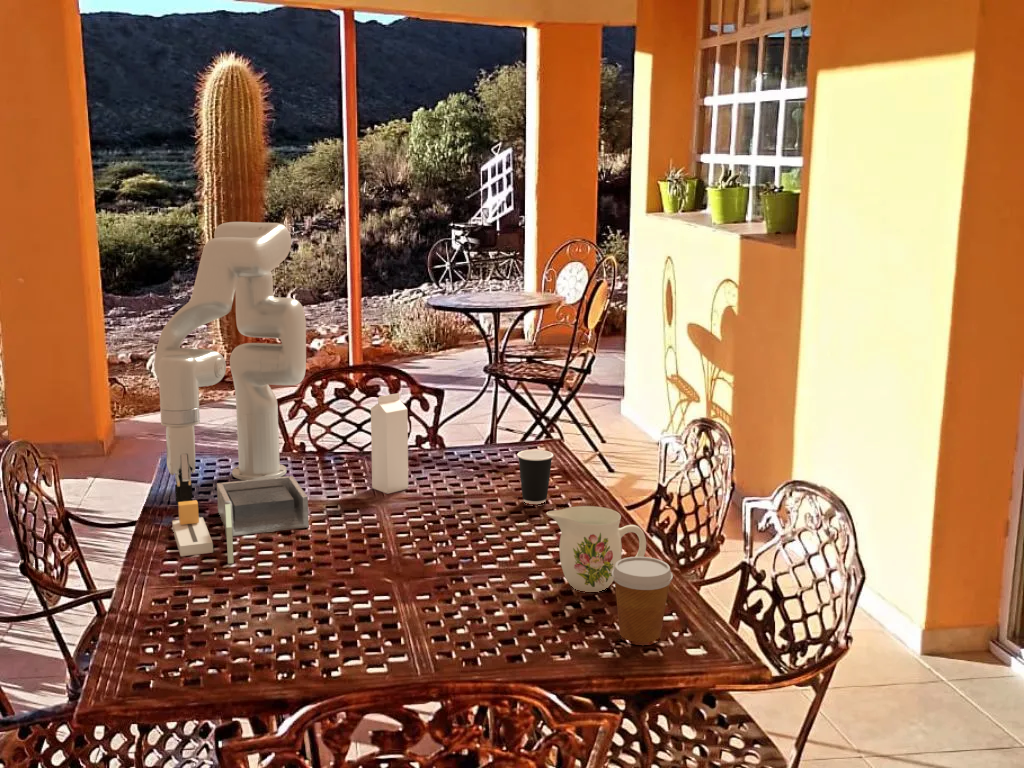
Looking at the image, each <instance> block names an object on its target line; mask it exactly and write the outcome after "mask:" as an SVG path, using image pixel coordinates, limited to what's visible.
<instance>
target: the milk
mask: <svg viewBox="0 0 1024 768" xmlns="http://www.w3.org/2000/svg"><path fill="white" fill-rule="evenodd" d="M400 395H401V394H400V393H398V392H397V393H391V394H386V395H380V396H378V398H377V403H376V404H375V405H373V406H372V407H370V428H371V429H370V431H371V434H370V435H371V436H370V437H371V438H370V439H371V485H372V486H371V488H372V489H373V490H377V491H378V492H382V493H384V494H393V493H396V492H401V491H404V490H409V439H408V438H409V437H408V436H409V435H408V434H409V431H408V429H409V427H408V426H409V424H408V420H409V418H408V416H409V415H408V408H407V406H406V405H405V404H404V403H403V401H401V399H400V398H401V397H400Z"/></svg>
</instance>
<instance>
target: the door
mask: <svg viewBox="0 0 1024 768" xmlns="http://www.w3.org/2000/svg"><path fill="white" fill-rule="evenodd" d="M224 511H225V527H224V529H225V530H224V531H225V538H226V547H227V552H226V553H227V564H235V563H234V562H235V560H234V546H233V545H234V544H233V543H234V541H233V537H234V536H233V526H232V504H231V501H225V502H224Z"/></svg>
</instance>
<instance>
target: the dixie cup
mask: <svg viewBox="0 0 1024 768" xmlns="http://www.w3.org/2000/svg"><path fill="white" fill-rule="evenodd" d="M516 455H517V457H518V464H519V476H520V477H519V478H520V485H521V495H522V499H523V503H524V502H525V503H529V504H541V503H544V502H545V503H546V501H547V497H548V493H549V483H550V478H551V469H552V468H551V467H552V461H553V460H552V459H553V458H554V454H553V452H551V451H548V450H544V449H543V450H542V449H526V450H522V451H521V450H520V451H519V452H518V453H517V454H516ZM525 503H524V504H525Z"/></svg>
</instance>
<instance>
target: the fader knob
mask: <svg viewBox="0 0 1024 768" xmlns="http://www.w3.org/2000/svg"><path fill="white" fill-rule="evenodd" d="M177 506H178V507H177V508H178V520H179V522H180V525H183V524H192V523H199V518H200V516H199V515H200V514H199V503H198V500H196V499H195V500H194V499H193V501H184V502H178V505H177Z"/></svg>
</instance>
